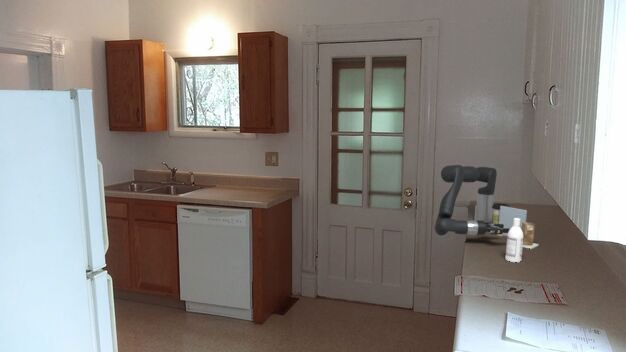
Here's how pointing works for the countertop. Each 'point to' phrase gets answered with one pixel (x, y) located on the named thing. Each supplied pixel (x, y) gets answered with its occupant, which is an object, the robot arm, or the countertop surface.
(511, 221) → the screen
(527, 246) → the mat
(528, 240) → the brown wooden block
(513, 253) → the bath foam
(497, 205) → the coffee cup
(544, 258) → the countertop surface
